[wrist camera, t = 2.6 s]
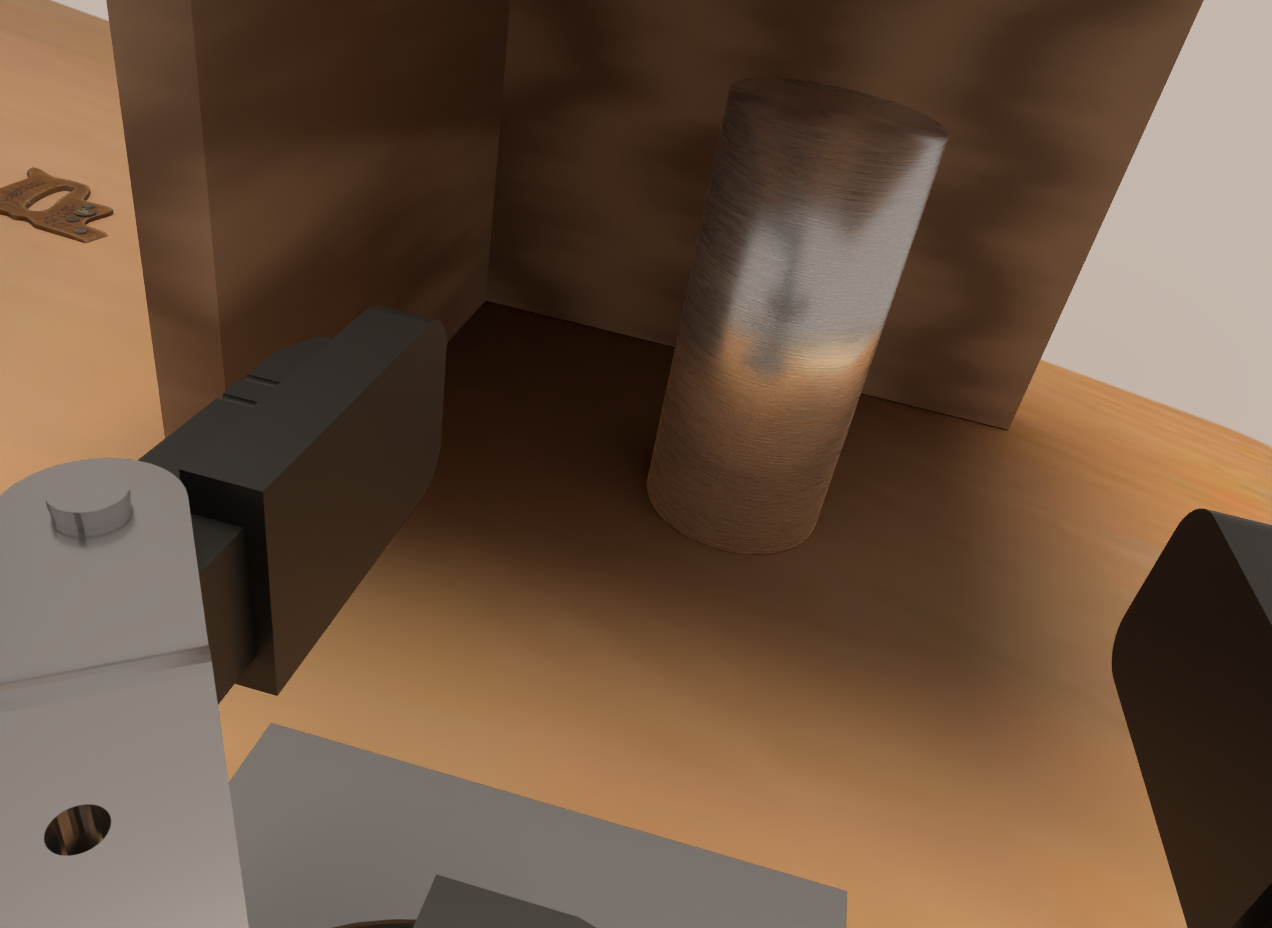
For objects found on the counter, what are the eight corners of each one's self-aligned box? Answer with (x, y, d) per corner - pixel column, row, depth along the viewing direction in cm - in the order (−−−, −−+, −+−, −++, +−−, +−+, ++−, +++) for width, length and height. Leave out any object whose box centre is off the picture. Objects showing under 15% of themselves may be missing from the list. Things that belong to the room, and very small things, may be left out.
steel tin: (629, 525, 26) (715, 108, 20) (663, 433, 30) (742, 65, 24) (811, 574, 25) (956, 162, 19) (820, 474, 29) (942, 109, 23)
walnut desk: (180, 557, 22) (34, -539, 12) (461, 276, 37) (501, -315, 27) (1099, 813, 20) (1830, -221, 10) (1003, 409, 35) (1261, -171, 25)
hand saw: (590, 341, 35) (592, 325, 35) (545, 396, 32) (547, 379, 31) (40, 178, 39) (37, 161, 39) (-58, 209, 35) (-63, 192, 35)
